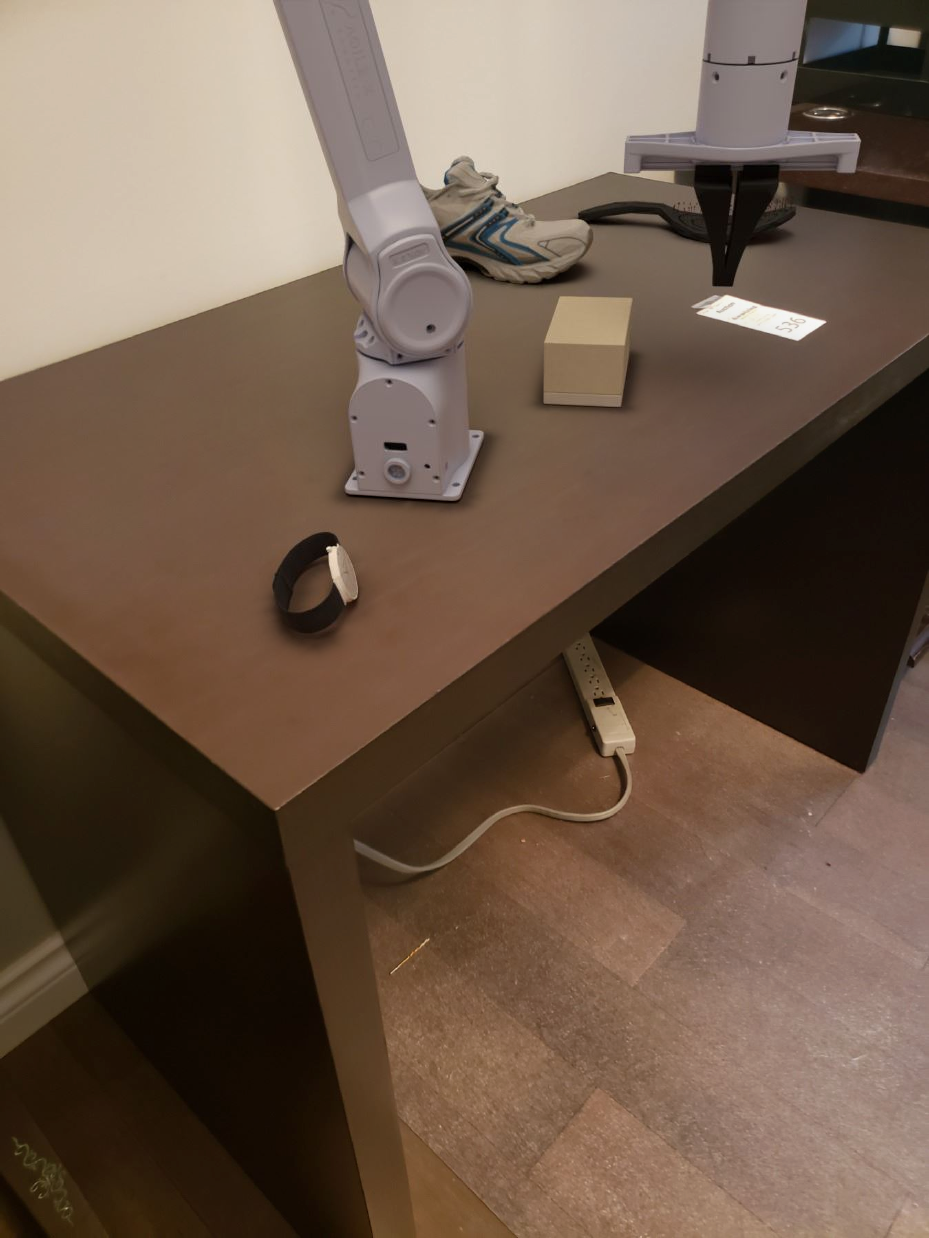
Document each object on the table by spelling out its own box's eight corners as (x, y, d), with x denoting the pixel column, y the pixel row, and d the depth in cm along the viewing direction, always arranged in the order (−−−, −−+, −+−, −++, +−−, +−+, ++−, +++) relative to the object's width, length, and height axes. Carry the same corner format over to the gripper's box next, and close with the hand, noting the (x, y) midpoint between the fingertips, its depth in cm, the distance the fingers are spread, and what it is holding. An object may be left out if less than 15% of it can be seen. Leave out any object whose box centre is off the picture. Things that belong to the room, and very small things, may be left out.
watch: (355, 639, 51) (347, 586, 49) (269, 645, 51) (257, 592, 49) (360, 560, 57) (353, 509, 55) (283, 565, 57) (273, 514, 55)
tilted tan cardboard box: (624, 345, 69) (543, 342, 70) (620, 407, 72) (543, 404, 73) (632, 297, 76) (559, 296, 78) (628, 356, 80) (558, 353, 81)
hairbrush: (591, 185, 113) (805, 190, 103) (592, 217, 115) (801, 225, 105) (565, 203, 108) (787, 210, 97) (565, 237, 110) (783, 247, 99)
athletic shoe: (588, 285, 93) (593, 151, 88) (367, 283, 97) (360, 156, 92) (597, 277, 102) (602, 154, 97) (394, 276, 106) (389, 159, 101)
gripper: (866, 46, 59) (825, 265, 67) (634, 52, 62) (622, 262, 70) (882, 63, 54) (835, 299, 62) (627, 69, 56) (615, 294, 65)
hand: (722, 282), depth 66 cm, fingers closed
